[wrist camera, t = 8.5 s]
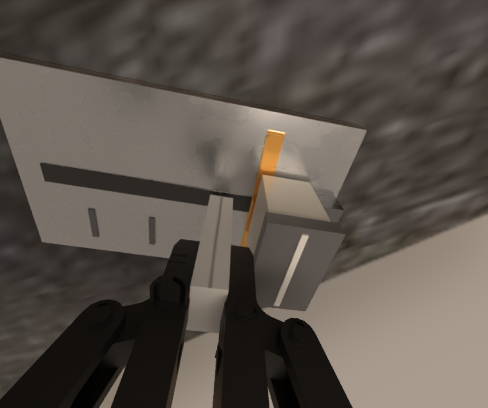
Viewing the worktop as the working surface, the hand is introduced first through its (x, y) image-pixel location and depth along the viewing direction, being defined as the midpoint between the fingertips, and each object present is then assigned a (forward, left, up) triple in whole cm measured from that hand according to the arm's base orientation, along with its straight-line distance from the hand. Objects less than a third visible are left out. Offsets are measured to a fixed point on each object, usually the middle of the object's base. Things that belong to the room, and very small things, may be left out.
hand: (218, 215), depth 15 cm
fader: (0, +4, -1) cm, 4 cm away
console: (0, -3, -3) cm, 4 cm away
